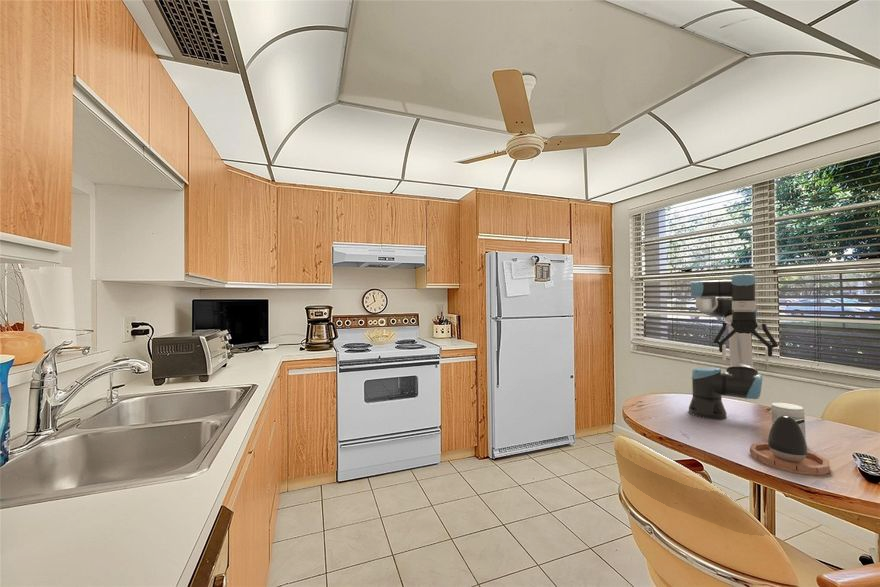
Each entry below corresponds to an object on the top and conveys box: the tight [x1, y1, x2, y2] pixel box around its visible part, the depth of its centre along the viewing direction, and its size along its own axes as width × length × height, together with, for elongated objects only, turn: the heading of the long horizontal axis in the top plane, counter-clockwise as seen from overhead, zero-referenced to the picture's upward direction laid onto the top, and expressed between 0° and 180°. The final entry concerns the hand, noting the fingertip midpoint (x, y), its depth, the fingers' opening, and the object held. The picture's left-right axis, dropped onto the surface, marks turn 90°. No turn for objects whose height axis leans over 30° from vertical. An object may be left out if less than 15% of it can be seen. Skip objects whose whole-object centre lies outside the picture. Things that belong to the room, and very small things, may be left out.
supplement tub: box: [770, 402, 807, 441], centre depth 142 cm, size 10×10×15 cm
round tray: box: [749, 442, 831, 476], centre depth 126 cm, size 20×20×2 cm
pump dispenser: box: [767, 416, 809, 462], centre depth 126 cm, size 10×10×15 cm
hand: (744, 362), depth 146 cm, fingers open, 13 cm apart
